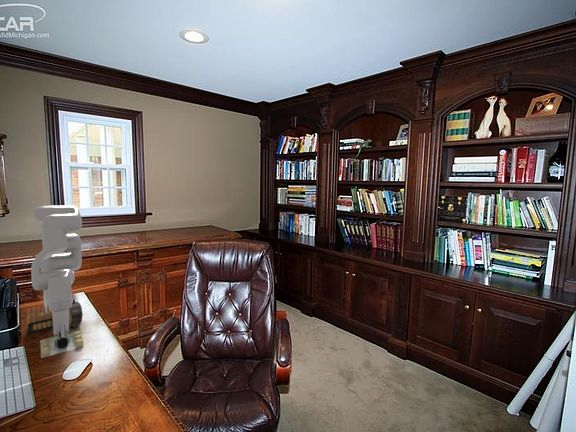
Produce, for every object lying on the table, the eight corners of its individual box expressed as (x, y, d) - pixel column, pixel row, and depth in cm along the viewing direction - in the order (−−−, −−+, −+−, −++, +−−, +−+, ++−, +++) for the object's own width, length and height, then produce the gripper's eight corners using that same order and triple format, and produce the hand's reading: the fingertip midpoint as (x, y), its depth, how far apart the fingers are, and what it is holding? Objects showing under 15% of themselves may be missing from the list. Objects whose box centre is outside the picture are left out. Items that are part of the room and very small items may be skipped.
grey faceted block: (54, 344, 127) (54, 339, 127) (69, 340, 130) (68, 335, 130) (54, 348, 123) (54, 343, 123) (70, 344, 127) (69, 339, 126)
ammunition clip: (27, 334, 135) (26, 309, 134) (27, 333, 136) (25, 307, 135) (57, 327, 143) (56, 303, 141) (56, 325, 144) (55, 301, 143)
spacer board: (40, 341, 130) (40, 334, 130) (79, 331, 139) (79, 325, 139) (41, 359, 117) (40, 352, 116) (84, 347, 126) (83, 340, 125)
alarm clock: (65, 324, 145) (63, 292, 144) (78, 321, 149) (77, 290, 148) (71, 332, 138) (69, 298, 136) (84, 328, 142) (83, 295, 140)
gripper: (48, 300, 125) (50, 342, 127) (49, 312, 114) (52, 358, 116) (70, 296, 130) (72, 337, 132) (73, 307, 119) (75, 351, 120)
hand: (62, 346), depth 124 cm, fingers closed
